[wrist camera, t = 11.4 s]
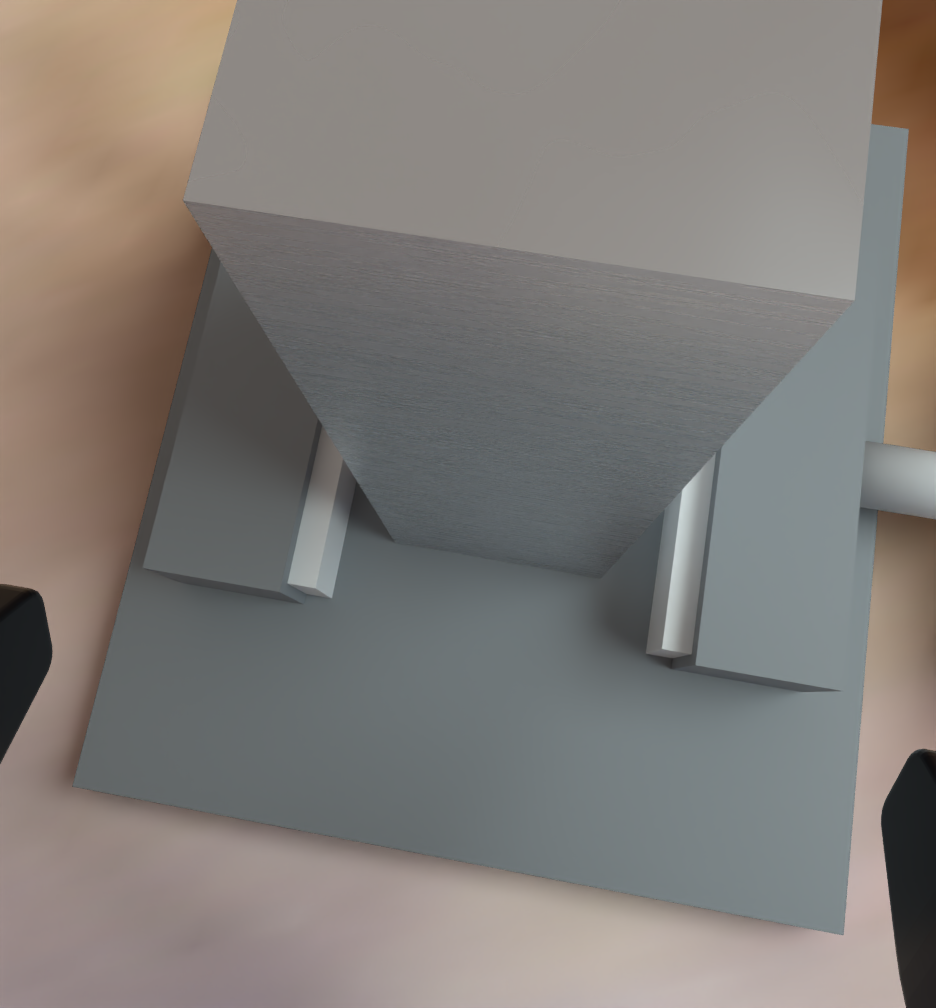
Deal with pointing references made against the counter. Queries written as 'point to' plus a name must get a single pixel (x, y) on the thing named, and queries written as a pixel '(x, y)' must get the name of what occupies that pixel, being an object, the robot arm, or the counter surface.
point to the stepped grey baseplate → (521, 637)
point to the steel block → (538, 241)
